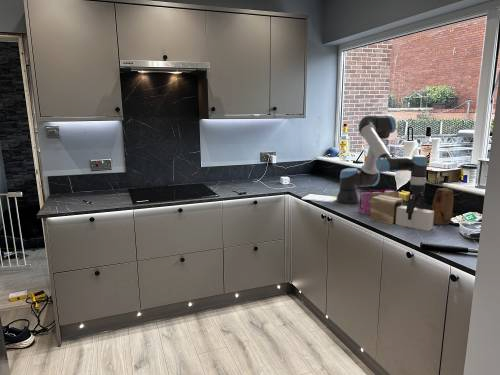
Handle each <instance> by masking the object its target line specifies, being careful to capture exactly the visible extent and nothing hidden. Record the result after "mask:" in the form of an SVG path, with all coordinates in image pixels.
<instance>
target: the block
mask: <svg viewBox="0 0 500 375" xmlns="http://www.w3.org/2000/svg"><path fill="white" fill-rule="evenodd" d="M431 206H432V207H431V211H434V219H433V225H438V226H441V225H442V226H443V225H448V224H450V223H451V222H452V217H453V210H454V190H453V189H450V188H446V187H442V188H437V189H436V190H435V195H434V197H433V200H432V205H431Z"/></svg>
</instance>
